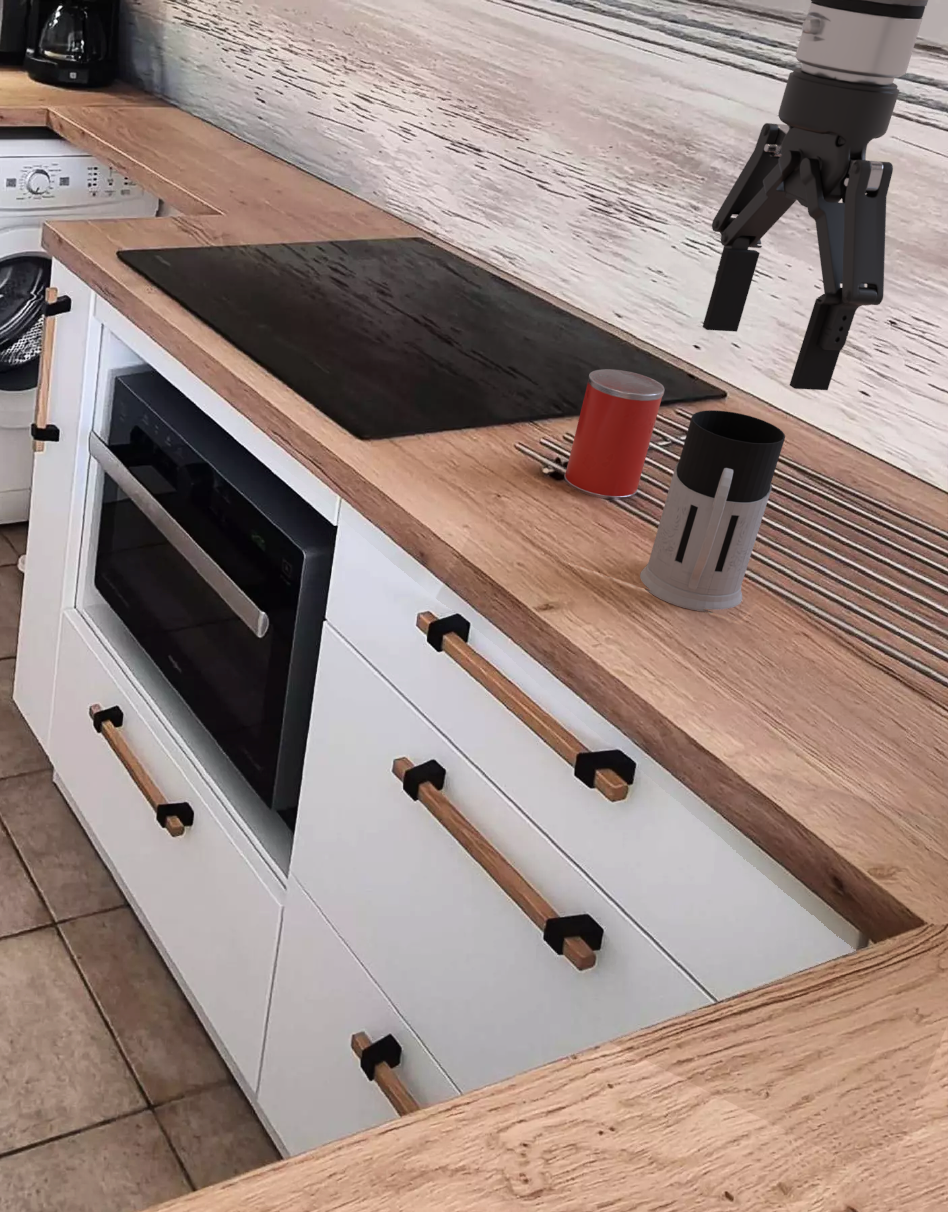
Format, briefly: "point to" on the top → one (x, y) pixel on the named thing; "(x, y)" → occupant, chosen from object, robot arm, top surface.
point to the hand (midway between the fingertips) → (761, 357)
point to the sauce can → (613, 434)
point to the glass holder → (713, 511)
